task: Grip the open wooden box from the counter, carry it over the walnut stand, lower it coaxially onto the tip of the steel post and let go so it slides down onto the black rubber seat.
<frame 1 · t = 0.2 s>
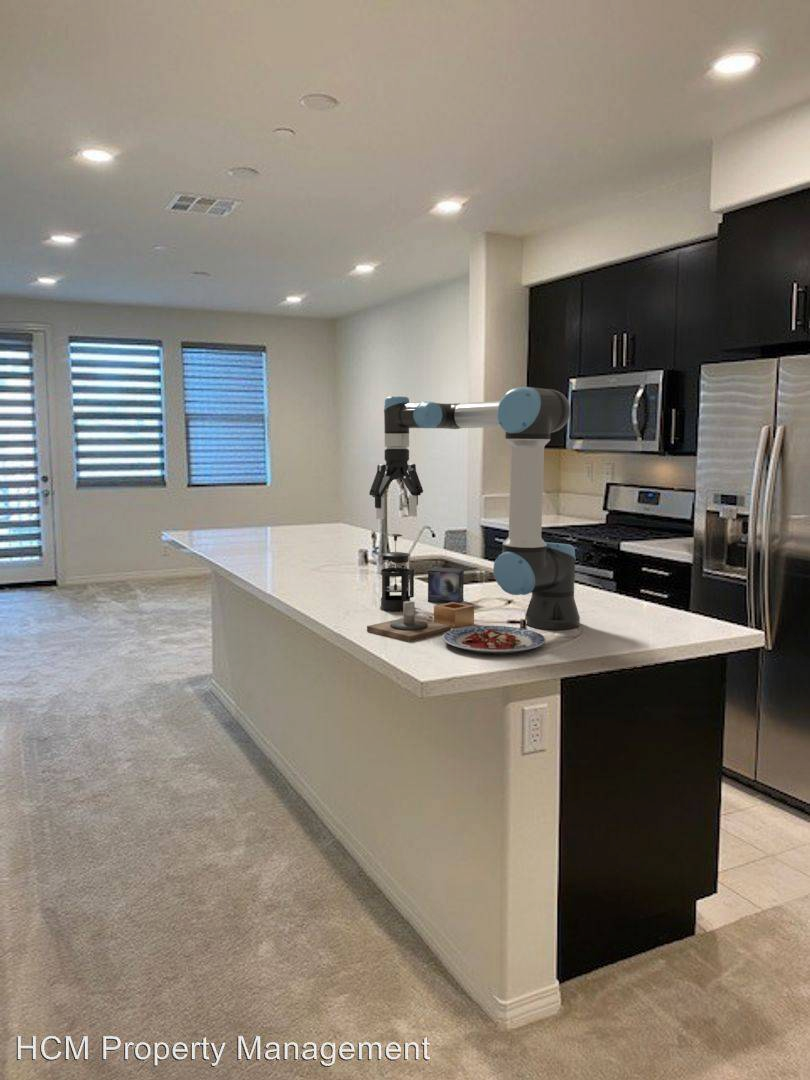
hand: (396, 517, 247), 28 cm above the countertop, fingers open, 13 cm apart
post stand: (408, 631, 217), on the countertop
small box: (445, 602, 258), on the countertop
open wooden box: (453, 623, 227), on the countertop
french press: (396, 609, 247), on the countertop
ceramic plate: (493, 646, 203), on the countertop
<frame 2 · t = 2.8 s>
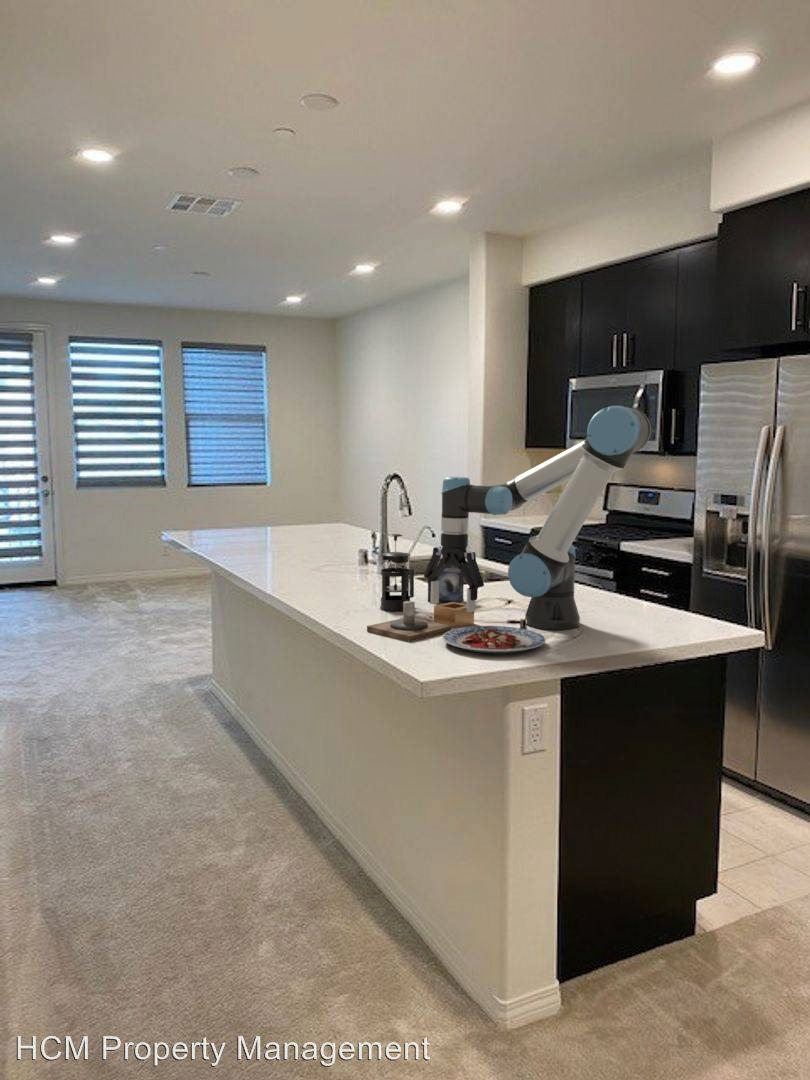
hand: (452, 607, 226), 4 cm above the countertop, fingers open, 13 cm apart
nothing on the countertop moved.
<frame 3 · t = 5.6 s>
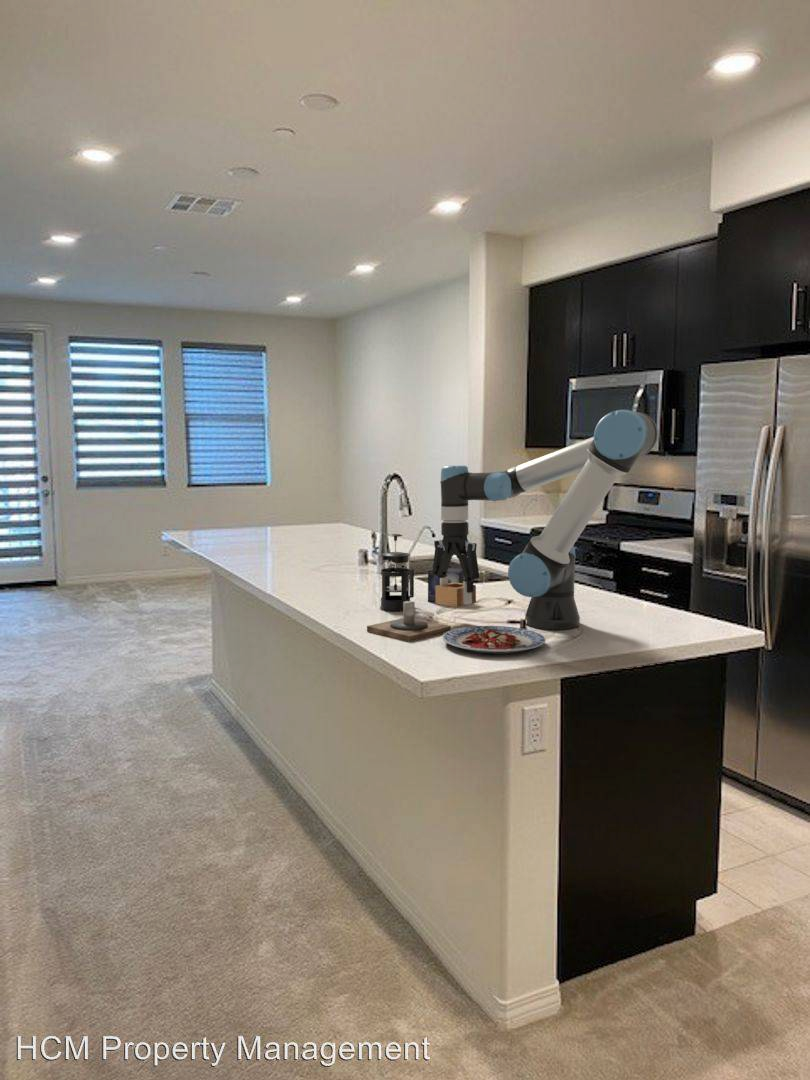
hand: (455, 602, 226), 6 cm above the countertop, fingers closed on open wooden box, 8 cm apart
open wooden box: (455, 603, 226), point 6 cm above the countertop, touching gripper
everything else where it was.
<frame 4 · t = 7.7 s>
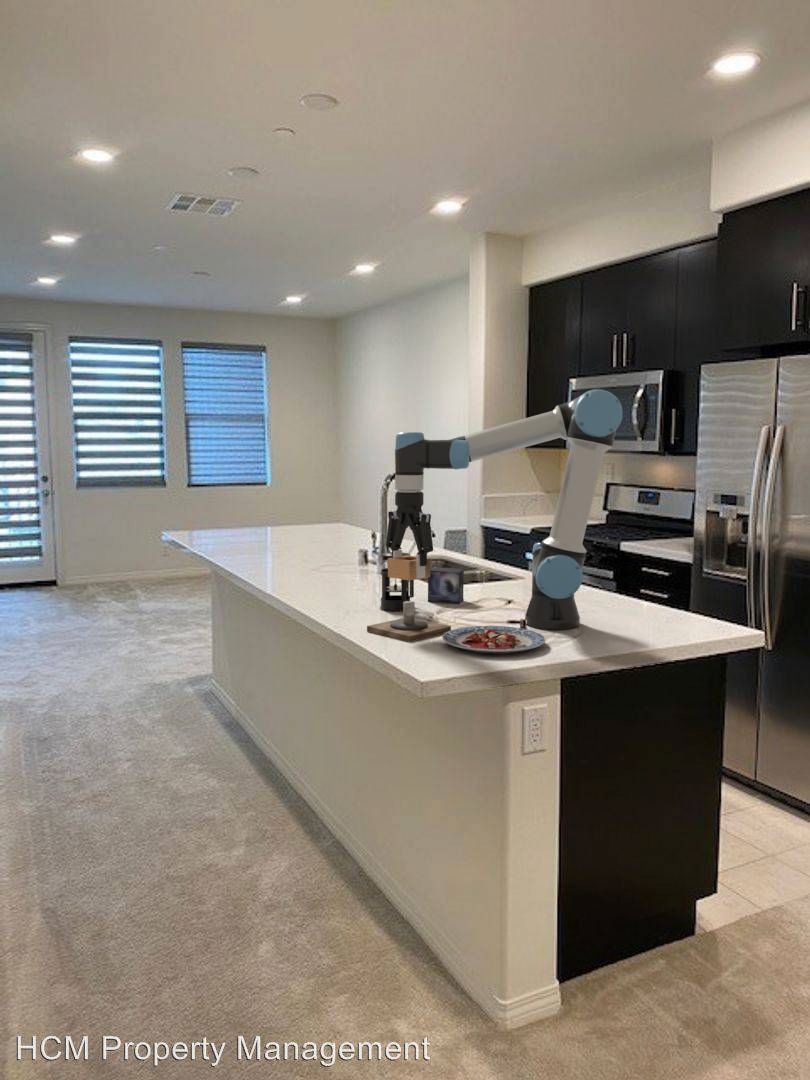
hand: (408, 576, 215), 15 cm above the countertop, fingers closed on open wooden box, 8 cm apart
open wooden box: (409, 576, 215), point 15 cm above the countertop, touching gripper
everything else where it was.
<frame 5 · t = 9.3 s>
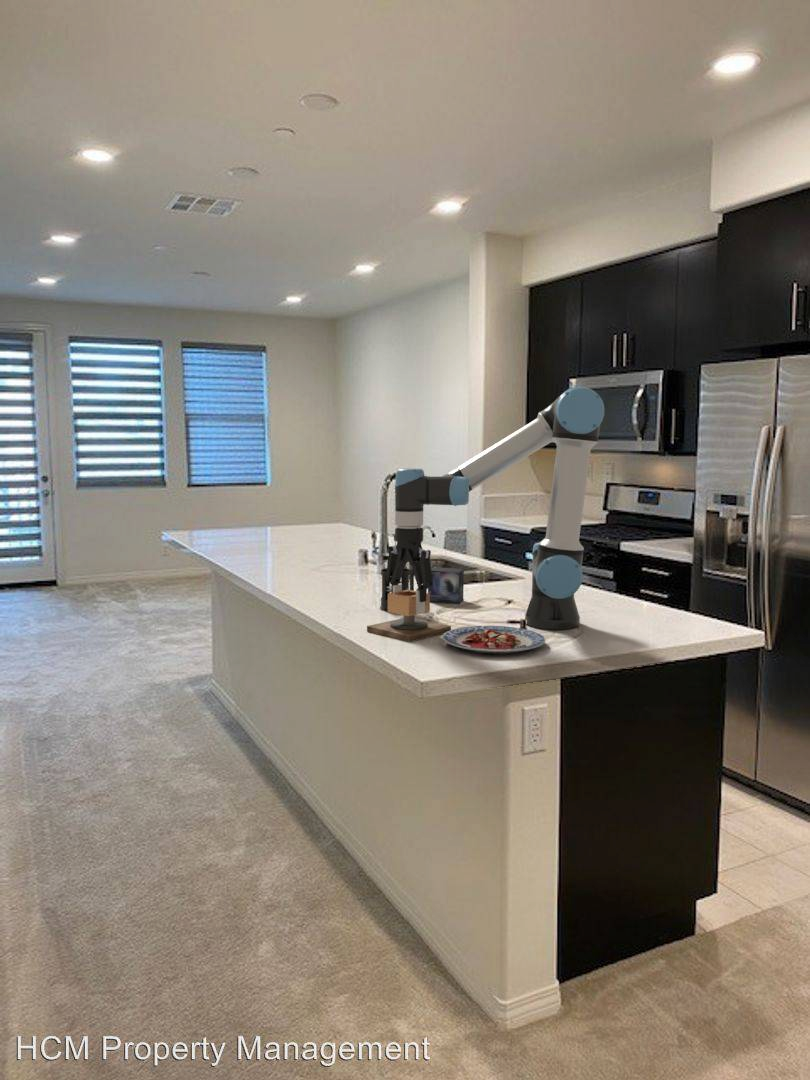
hand: (408, 610, 216), 6 cm above the countertop, fingers closed on open wooden box, 8 cm apart
open wooden box: (408, 611, 216), point 5 cm above the countertop, touching gripper
everything else where it was.
when the fingers open (5 cm above the countertop, at t = 10.3 s): open wooden box drops 2 cm, resting on post stand.
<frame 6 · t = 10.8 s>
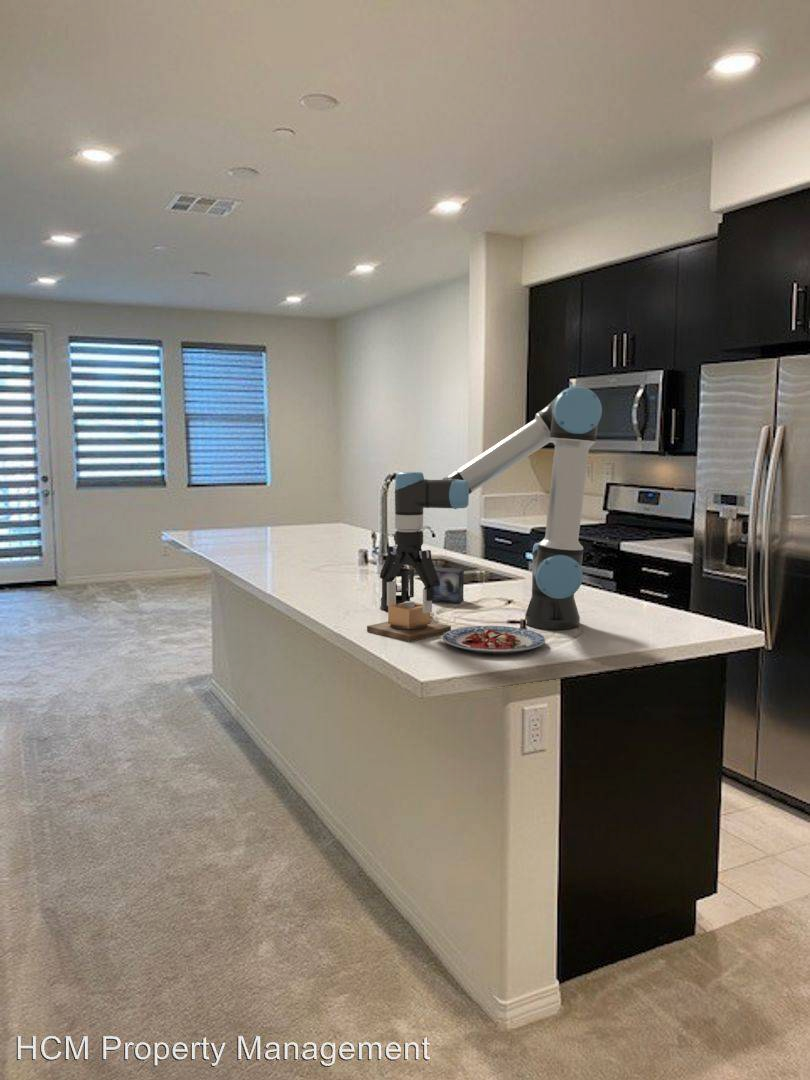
hand: (409, 608, 216), 6 cm above the countertop, fingers open, 13 cm apart
open wooden box: (409, 623, 216), point 2 cm above the countertop, touching post stand
everything else where it was.
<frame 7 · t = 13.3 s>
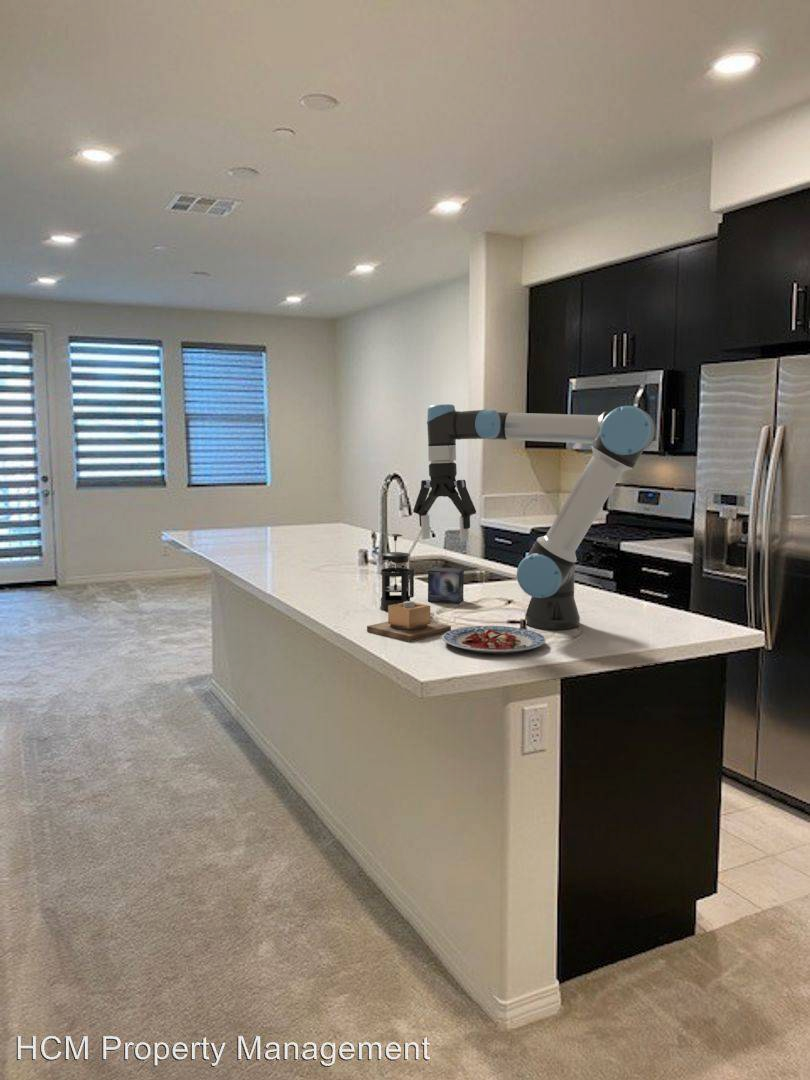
hand: (444, 539, 221), 24 cm above the countertop, fingers open, 13 cm apart
nothing on the countertop moved.
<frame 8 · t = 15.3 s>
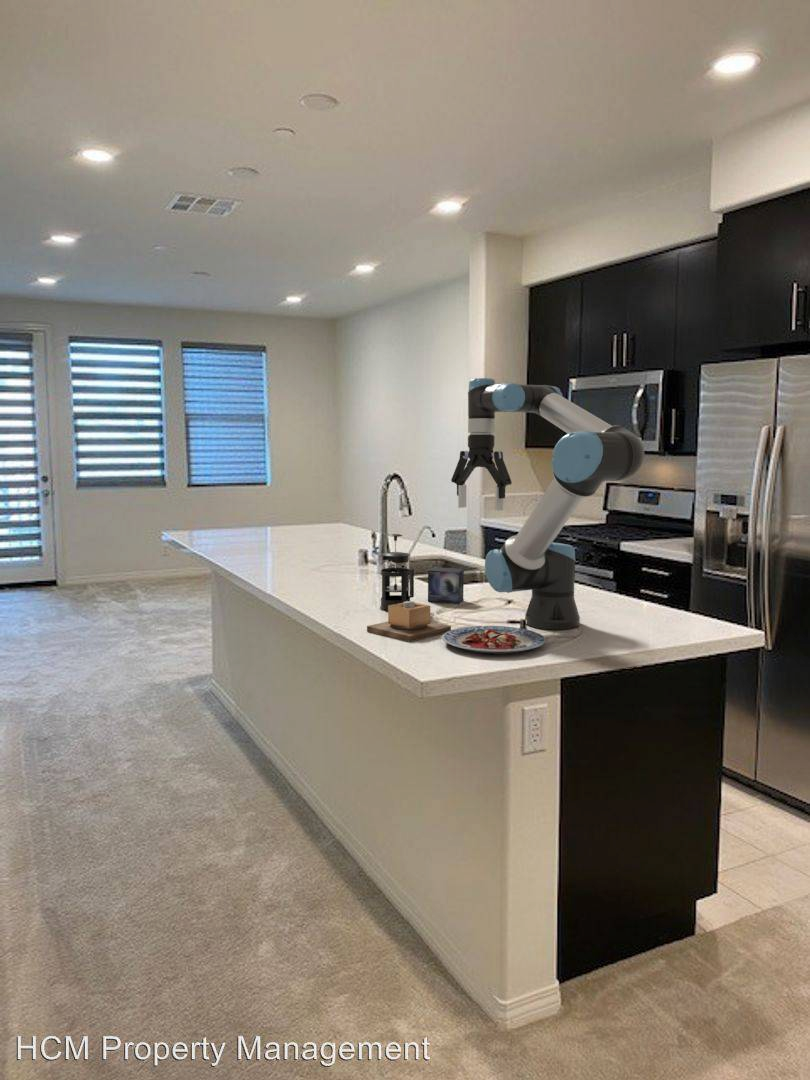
hand: (480, 508, 230), 32 cm above the countertop, fingers open, 13 cm apart
nothing on the countertop moved.
at the end: open wooden box 0.1 cm from the post stand (horizontally); open wooden box point 2.1 cm above the countertop; the gripper is holding nothing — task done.
